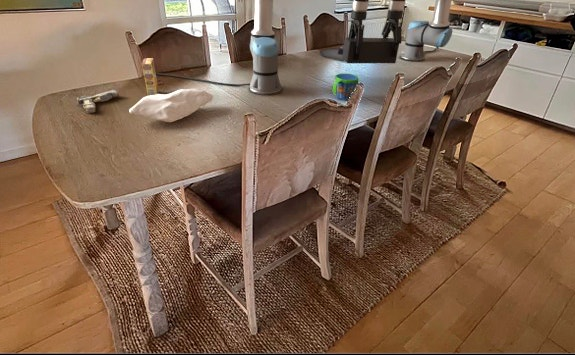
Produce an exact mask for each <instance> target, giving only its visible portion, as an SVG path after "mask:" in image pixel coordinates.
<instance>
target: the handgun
mask: <svg viewBox="0 0 575 355" xmlns="http://www.w3.org/2000/svg"><path fill="white" fill-rule="evenodd" d="M119 96H120V94H119V92H118V91H117V90H116V89H112V90H108V91H105V92H104V91H103V92H101V93H96V94H94V95H86V94H85V95H84V94H83V95H81V96H80V97H77V98H76V101H77V104H78V105H82V108H83V109H84V110H85V113H87V114H91V113H95V112H96V104H95V103H98V102H106V101H109V100H111V99H113V98H117V97H119Z"/></svg>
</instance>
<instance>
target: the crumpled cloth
mask: <svg viewBox="0 0 575 355" xmlns="http://www.w3.org/2000/svg"><path fill="white" fill-rule="evenodd" d="M213 97H214V96H213V94H212V93H210V92H208V91H206V90H203V89H201V88H187V89H186V88H185V89H184V88H183V89H177V90H175V91H173V92H171V93H167V94H163V93H158V94H156V95H150V96H148V95H146V96H144V97H142V98H141V99H140V100H139V101H138V102H137V103H136V104H134V105H133V106H132V107H131V108H129V114H130V115H135V116H140V117H145V118H146V119H149V120H152V121H155V120H158V121H163V122H166V123H174V122H176V121H178V120H181V119H183V118H185V117H188V116H190V115H192V114H193V113H195V112H196V111H197V110H199V109H200V108H202V107H204V106H206V105H207V104H210V102H211V101H212V100H213V99H214V98H213Z"/></svg>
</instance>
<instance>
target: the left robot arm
mask: <svg viewBox="0 0 575 355" xmlns="http://www.w3.org/2000/svg"><path fill="white" fill-rule="evenodd" d="M348 1H350V2H352V3H351V4H352V5H351V13H350V19H351V20H350V26H349V31H348V36H347V38H356V45H355V46H354V47H355V48H354V55H353V60H358V59H359V53H360V47H362V46H363V38H364V34H365V33H364V32H365V27H366V26H365V24H363V21H366V19H367V14H368V12H367V11H368V7H369V5H370V3H369V0H348ZM273 14H274V0H254V14H253V15H254V17H253V18H254V20H253V22H254V23H253V24H254V25H253V29H252V30H251V31H250V43H249V52H250V53H251V56H252V69H253V70H252V77H251V81H250V83H239V84H238V83H226V82H217V81H213V80H206V79H202V78H196V77H191V76H185V75H179V74H170V73H161V72H156V76H165V77H174V78H181V79H187V80H192V81H198V82H203V83H209V84H215V85H222V86H231V87H244V86H249V91H250V92H251V93H253V94H255V95H261V96H271V95H277V94H279V93H281V92H282V85H281V81H280V78H279V50H280V47H279V42H278V41H277V40H276V38H275V35H276V33H275V31H274V30H273V17H274V16H273Z"/></svg>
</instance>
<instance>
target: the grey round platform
mask: <svg viewBox="0 0 575 355" xmlns="http://www.w3.org/2000/svg"><path fill="white" fill-rule="evenodd" d="M343 48H344V46H338V48H326V49H322V50H320V51H319V54H320V55H321V56H323V57H326V58H327V59H333V60H337V61H344V60H343V59H342V56H343Z"/></svg>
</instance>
